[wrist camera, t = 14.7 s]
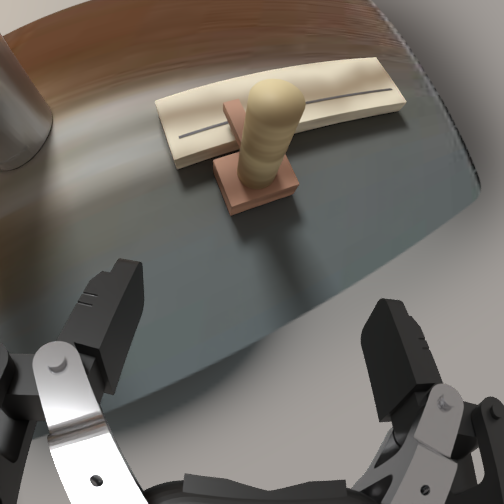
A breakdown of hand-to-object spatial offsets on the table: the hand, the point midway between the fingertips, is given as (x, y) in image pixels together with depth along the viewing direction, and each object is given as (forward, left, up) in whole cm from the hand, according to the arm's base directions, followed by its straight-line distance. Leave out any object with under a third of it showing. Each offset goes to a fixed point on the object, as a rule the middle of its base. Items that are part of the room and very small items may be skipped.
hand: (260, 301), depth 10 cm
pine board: (-17, +12, -16) cm, 26 cm away
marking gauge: (-12, +5, -16) cm, 21 cm away
